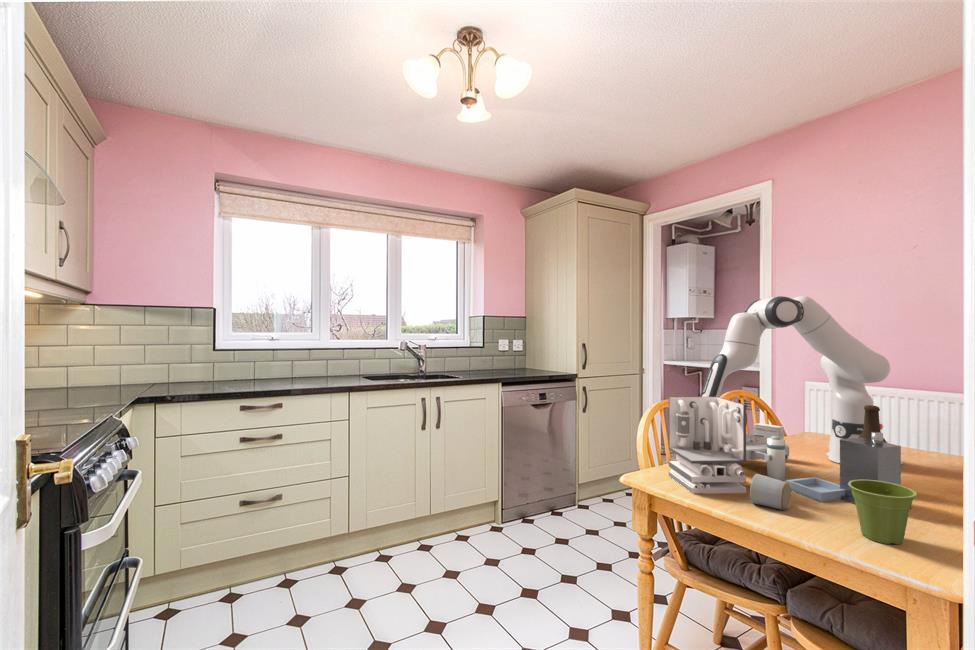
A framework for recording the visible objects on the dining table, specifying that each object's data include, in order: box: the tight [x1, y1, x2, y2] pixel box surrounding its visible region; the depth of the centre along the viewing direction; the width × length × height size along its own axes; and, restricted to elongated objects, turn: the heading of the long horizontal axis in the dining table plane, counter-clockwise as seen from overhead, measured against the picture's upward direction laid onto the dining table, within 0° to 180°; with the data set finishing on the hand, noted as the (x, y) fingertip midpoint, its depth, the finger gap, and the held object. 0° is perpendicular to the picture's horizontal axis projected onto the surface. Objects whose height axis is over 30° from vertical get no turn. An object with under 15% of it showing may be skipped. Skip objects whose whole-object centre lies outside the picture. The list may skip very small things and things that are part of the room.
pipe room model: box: [668, 396, 747, 494], centre depth 142 cm, size 16×19×25 cm
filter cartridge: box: [766, 436, 786, 481], centre depth 149 cm, size 5×5×13 cm
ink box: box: [753, 422, 785, 440], centre depth 172 cm, size 9×5×12 cm, turn 42°
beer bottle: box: [858, 404, 888, 443], centre depth 140 cm, size 8×8×24 cm
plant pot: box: [848, 480, 918, 545], centre depth 107 cm, size 12×12×11 cm
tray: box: [785, 476, 845, 503], centre depth 136 cm, size 11×11×2 cm
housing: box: [839, 432, 912, 510], centre depth 129 cm, size 11×13×19 cm
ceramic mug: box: [749, 473, 792, 511], centre depth 127 cm, size 11×8×8 cm
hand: (778, 457), depth 148 cm, fingers closed on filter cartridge, 5 cm apart
